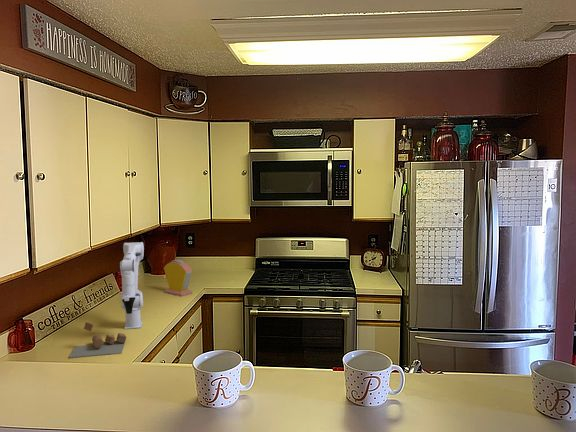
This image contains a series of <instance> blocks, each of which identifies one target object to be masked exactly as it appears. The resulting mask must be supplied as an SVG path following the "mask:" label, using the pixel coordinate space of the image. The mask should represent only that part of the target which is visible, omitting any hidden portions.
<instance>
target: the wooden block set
mask: <svg viewBox="0 0 576 432" xmlns="http://www.w3.org/2000/svg"><path fill="white" fill-rule="evenodd" d="M93 327H94V323H92V322H89V321H88V322H87V321H85V323H84V326H83V329H84V330H85V331H88V332H92V330H93ZM91 338H92V339H91V341H92V345H94V347H95V348H100V347H102V345H103V344H104V341H105V344H108V343H109V344H113V343H115V340H116V341H117V343H119V342H120V343H126V340H127V336H126V333H122V332H121V333H120V332H118V333H117V336H114V334H110V333H107V334H106V336H105V338H104V340H103V338H102V335H101V334H100V333H96V334H94V335H93V336H92V337H91Z"/></svg>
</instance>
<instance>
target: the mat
mask: <svg viewBox="0 0 576 432" xmlns="http://www.w3.org/2000/svg"><path fill="white" fill-rule="evenodd" d="M125 343H126V342H125ZM125 343H120V342H114V343H113V344H109V343H103V345H102V347H100V348H95V347H94V344H87V345H86V344H85V345H76V346H74V348H73V349H72V351H71V352H70V354H69V356H68V359H74V358H77V359H78V358H86V357H96V356H107V355H108V356H109V355H120V354H121V355H122V354H123V353H122V352H123V351H124V347H125Z"/></svg>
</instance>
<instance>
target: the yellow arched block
mask: <svg viewBox="0 0 576 432" xmlns="http://www.w3.org/2000/svg"><path fill="white" fill-rule="evenodd" d="M163 270H164V273H165V277H166V281H167V285H168V289H164V293H165V294H170V295H173V294H174V295H175V296H178V295H179V297H184V295H185V296H188V294H189V295H192V294H193V290H191V289H190V290H189V286H190V280H191V276H192V271H193V269H192V267H191V266H189V264H188V263H186V262H185V261H184V260H182V259H174V260H171V261H170V262H168V263H166V265H164V267H163ZM174 295H173V296H174Z"/></svg>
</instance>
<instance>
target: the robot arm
mask: <svg viewBox="0 0 576 432" xmlns="http://www.w3.org/2000/svg"><path fill="white" fill-rule="evenodd" d="M122 249H123V255H124V256H123V257H122V258H123V259H122V260H121V261H120V262H119V269H120V276H121V291H122V293H120V294H119V297H121V308H122V309H123V310H124V311H125V313H124V314H125V324H124V329H125V330H128V329H129V330H130V329H141V328H142V326H143V321H142V318H141V317H142V316H141V309H142V308H143V306H144V296H143V295H144V294H143V292H142V291H141V290H139V289H138V288H139V287H138V285H139V265H140V262H141V261H142V260H143V259H144V252H145V251H144V250H145V247H144V242H143V241H141V242H139V241H138V242H137V241H136V242H124V243H123V245H122Z"/></svg>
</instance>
